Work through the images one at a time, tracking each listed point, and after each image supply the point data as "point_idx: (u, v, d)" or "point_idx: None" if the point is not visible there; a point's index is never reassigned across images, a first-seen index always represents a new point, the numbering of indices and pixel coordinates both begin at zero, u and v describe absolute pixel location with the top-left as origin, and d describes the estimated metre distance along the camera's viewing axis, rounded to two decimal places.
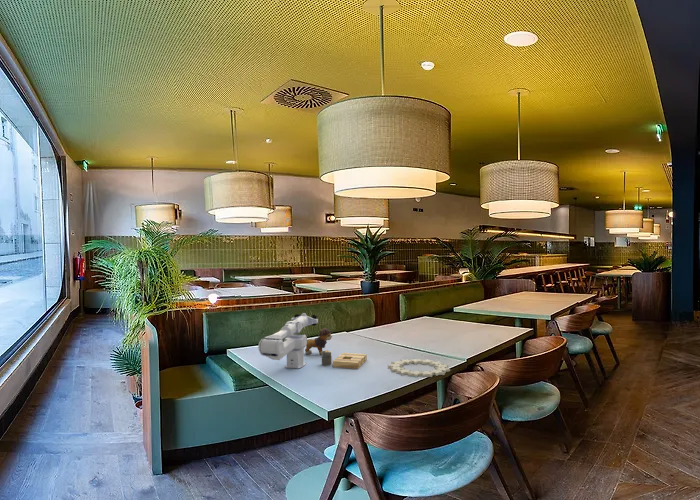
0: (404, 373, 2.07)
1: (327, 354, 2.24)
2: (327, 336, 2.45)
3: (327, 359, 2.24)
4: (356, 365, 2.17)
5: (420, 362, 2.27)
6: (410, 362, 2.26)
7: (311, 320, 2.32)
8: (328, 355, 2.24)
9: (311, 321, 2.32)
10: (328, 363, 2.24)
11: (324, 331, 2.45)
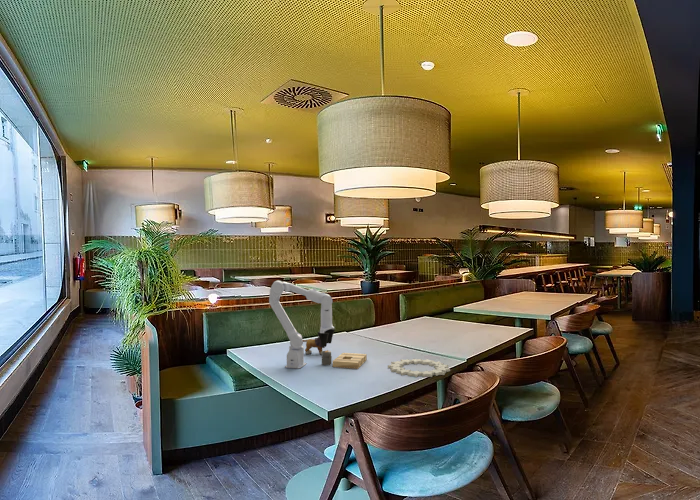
0: (404, 373, 2.07)
1: (327, 354, 2.24)
2: None
3: (327, 359, 2.24)
4: (356, 365, 2.17)
5: (420, 362, 2.27)
6: (410, 362, 2.26)
7: None
8: (328, 355, 2.24)
9: (323, 328, 2.22)
10: (328, 363, 2.24)
11: None
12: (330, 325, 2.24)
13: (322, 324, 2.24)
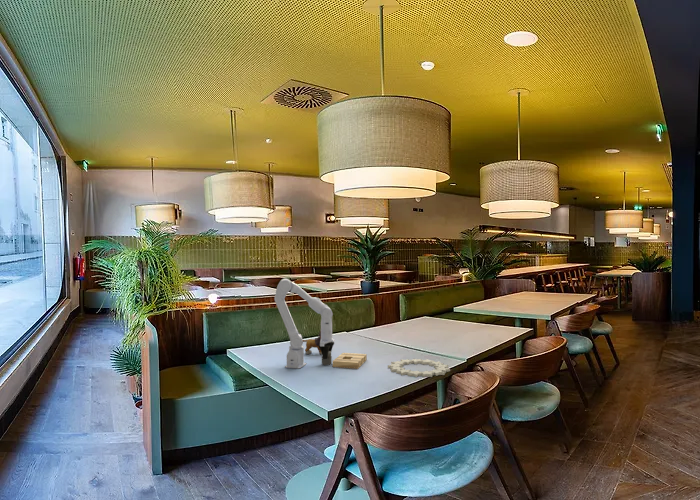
0: (404, 373, 2.07)
1: None
2: None
3: (327, 359, 2.24)
4: (356, 365, 2.17)
5: (420, 362, 2.27)
6: (410, 362, 2.26)
7: None
8: (328, 355, 2.24)
9: (323, 341, 2.22)
10: (328, 363, 2.24)
11: None
12: (330, 338, 2.24)
13: (322, 337, 2.24)
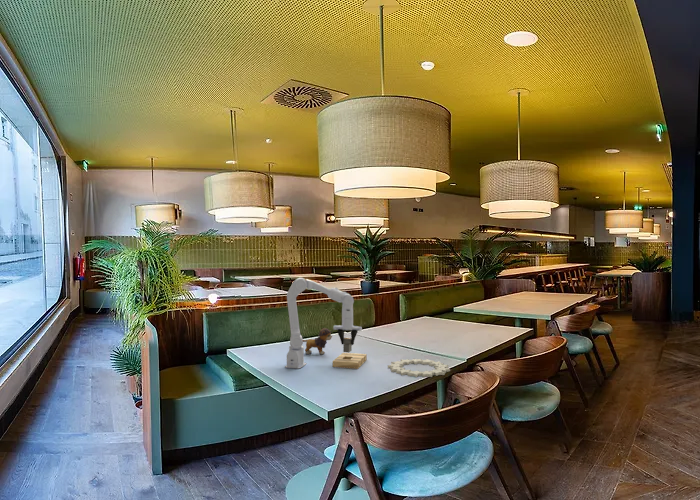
0: (404, 373, 2.07)
1: None
2: (327, 336, 2.45)
3: (350, 345, 2.27)
4: (356, 365, 2.17)
5: (420, 362, 2.27)
6: (410, 362, 2.26)
7: (355, 327, 2.26)
8: None
9: (355, 326, 2.26)
10: (351, 349, 2.28)
11: (324, 331, 2.45)
12: None
13: (351, 324, 2.25)
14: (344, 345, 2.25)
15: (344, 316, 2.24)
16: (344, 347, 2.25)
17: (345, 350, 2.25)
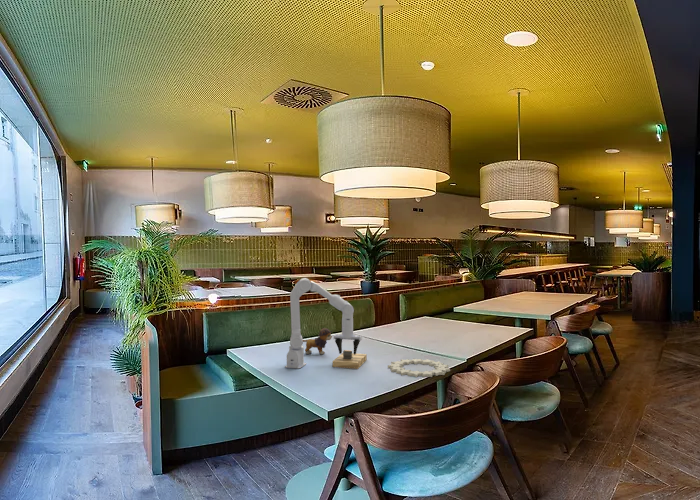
0: (404, 373, 2.07)
1: None
2: (327, 336, 2.45)
3: (351, 357, 2.27)
4: (356, 365, 2.17)
5: (420, 362, 2.27)
6: (410, 362, 2.26)
7: None
8: None
9: (355, 336, 2.26)
10: None
11: (324, 331, 2.45)
12: None
13: (351, 333, 2.25)
14: (344, 357, 2.25)
15: (344, 325, 2.24)
16: None
17: None
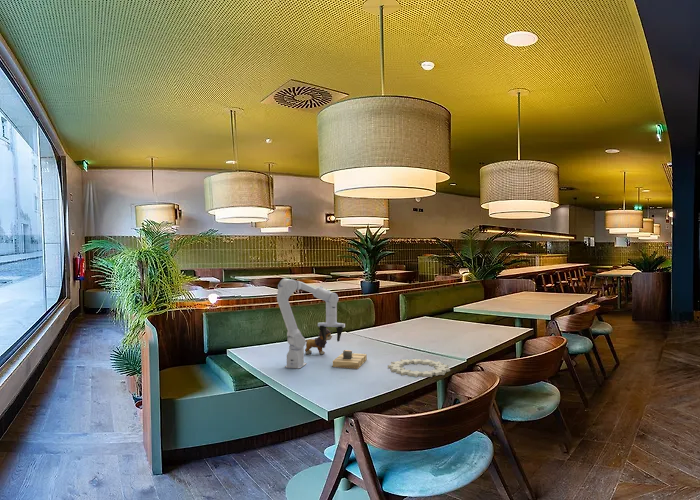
0: (404, 373, 2.07)
1: None
2: (327, 336, 2.45)
3: (351, 357, 2.27)
4: (356, 365, 2.17)
5: (420, 362, 2.27)
6: (410, 362, 2.26)
7: (339, 324, 2.33)
8: None
9: (339, 323, 2.32)
10: None
11: None
12: None
13: (335, 320, 2.31)
14: (344, 357, 2.25)
15: (330, 313, 2.31)
16: None
17: None
